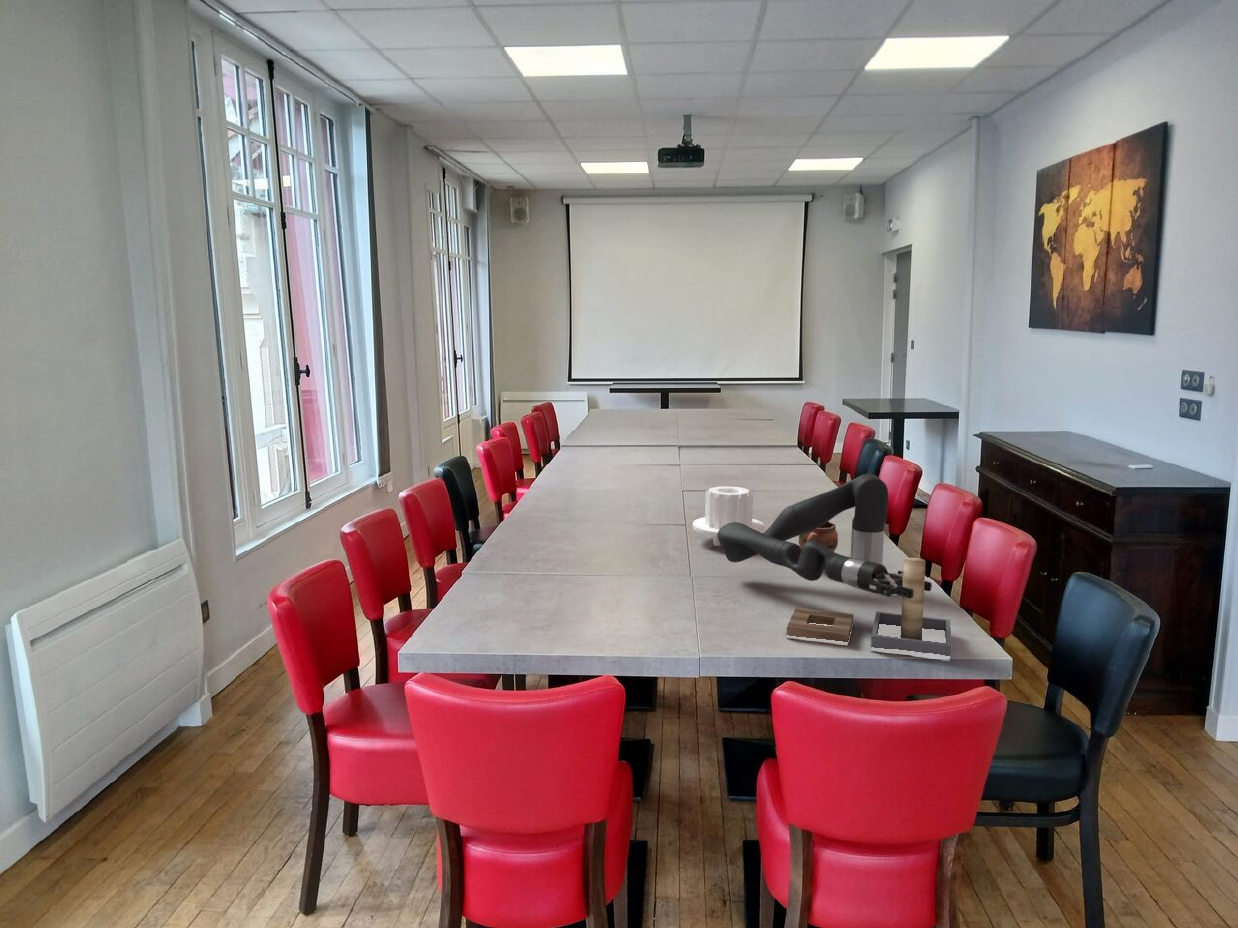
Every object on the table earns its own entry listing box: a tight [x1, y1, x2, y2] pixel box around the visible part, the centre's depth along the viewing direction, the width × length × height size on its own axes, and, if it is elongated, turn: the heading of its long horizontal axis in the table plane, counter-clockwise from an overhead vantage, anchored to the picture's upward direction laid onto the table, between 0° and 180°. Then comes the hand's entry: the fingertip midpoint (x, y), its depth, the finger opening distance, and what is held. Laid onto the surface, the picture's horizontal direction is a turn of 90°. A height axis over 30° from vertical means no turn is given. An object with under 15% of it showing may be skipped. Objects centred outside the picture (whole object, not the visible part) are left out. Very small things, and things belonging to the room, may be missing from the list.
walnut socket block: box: [786, 607, 855, 642], centre depth 219 cm, size 15×15×3 cm
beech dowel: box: [900, 557, 926, 640], centre depth 211 cm, size 5×5×20 cm
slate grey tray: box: [870, 610, 952, 657], centre depth 212 cm, size 18×18×4 cm
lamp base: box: [692, 485, 765, 547], centre depth 301 cm, size 25×25×19 cm
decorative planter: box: [798, 520, 839, 568], centre depth 275 cm, size 20×12×14 cm, turn 154°
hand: (921, 590), depth 208 cm, fingers open, 8 cm apart
